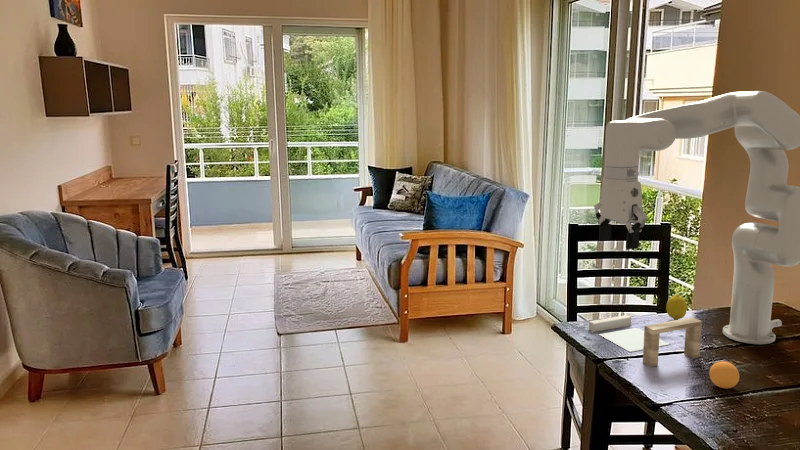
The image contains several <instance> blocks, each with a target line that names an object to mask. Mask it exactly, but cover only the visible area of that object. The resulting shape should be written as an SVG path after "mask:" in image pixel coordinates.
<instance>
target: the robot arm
mask: <svg viewBox="0 0 800 450" xmlns="http://www.w3.org/2000/svg"><path fill="white" fill-rule="evenodd" d="M731 128H734V136H735V139H736V140H737V142H738V143H739V144H740V146H741V147H742V148H743V149H744V150H745V152H746V153H747V155H748V159H749V162H750V169H749V177H748V184H747V188H746V195H745V201H744V202H745V203H744V208H745V211H746V213H747V214H749V216H751V217H755V218H756V219H762V220H763V219H764V220H767V221H773V222H778V226H775V225H771V224H766V223H760V222H745V223H742V224H740V225H739V226H737V227H736V228H735V229H734V231H733V233H732V238H731V246H732V248H731V249H732V254H733V278H732V279H733V280H732V288H731V289H732V291H731V300H730V302H731V303H730V313H729V314H730V315H729V324H726V325H724V326H723V327H722V334H723V335H724V336H725V337H726V338H728V339H730V340H733V341H736V342H740V343H744V344H749V345H750V344H752V345H769V344H772V343H774V342H775V341H776V339H777V338H776V334H775V333H774V332H773V330H772V329H774V328H777V327H781V326H782V325H783V322H782V320H781V319H773V320H771V319H772V308H773V298H774V297H773V296H774V288H775V271H774V268H773V265H775V266H776V265H777V266H780V267H787V268H788V267H789V268H790V267H795V266H797V265H799V264H800V186H797V185H788V176H789V168H790V167H789V165H790V163H789V159H788V156H787V153H786V152H785V151H791V150H795V149H797V148H799V147H800V114H799V113H798V112H797V111H795V110H794V109H793V108H792V107H790V106H789V105H788V104H787V103H786V102H784V101H783V100H781V98H779V97H778V96H776V95H774V94H773V93H770V92H768V91H764V90H754V91H753V90H751V91H748V90H747V91H733V92H727V93H724V94H721V95H717V96H713V97H710V98H706V99H704V100H699V101H696V102H692V103H688V104H681V105H678V106H677V105H676V106H675V107H674V106H673V107H669V108H665V109H661V110H659V109H658V110H655V111H650V112H646V113H643V114H640V115H635V116H632V117H628V118H626V119H625V120H612V121H609V122H608V123H607V124H606V126H605V141H604V143H605V145H604V171H603V172H604V175H603V180H602V185H601V191H600V192H601V193H600V199H599V202H598V203H596V204H594V206H593V207H594V211H595V217H596V219H597V224H598V225H599V227H598V241H600V242H603V241H610V240H611V239H612V224H611V221H613V222H616V223H622V224H624V225H625V227H626V229H627V231H628V232H626V237H625V249H626V250H634V249H635V250H636V249H638V248H639V246H640V233H641V232H642V229H643V228H645V226H646V223H647V220H648V215H647V214H646V213H645V211H643V191H642V184H641V180H639V175H640V172H639V163H640V151H650V152H661V151H664V150H666V149H668V148H670V147H671V146H672V145H673V143H675V140H680V139H681V140H685V139H686V140H687V139H696V138H703V137H706V136H709V135H712V134H715V133H718V132H722V131H724V130H725V131H726V130H728V129H731Z"/></svg>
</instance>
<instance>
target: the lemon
mask: <svg viewBox="0 0 800 450" xmlns="http://www.w3.org/2000/svg"><path fill="white" fill-rule="evenodd" d="M687 305H688V304H687V301H686V300H685V298H684V297H682V296H681V295H679V294H675V295H673V296H671V297H669V298H668V300H667V302H666V306H665V307H666V313H667V315H668V316H669V317H670V318H671V319H673V321H675V320H680V319H684V317H685V316H686V314H687V310H688V306H687Z"/></svg>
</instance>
